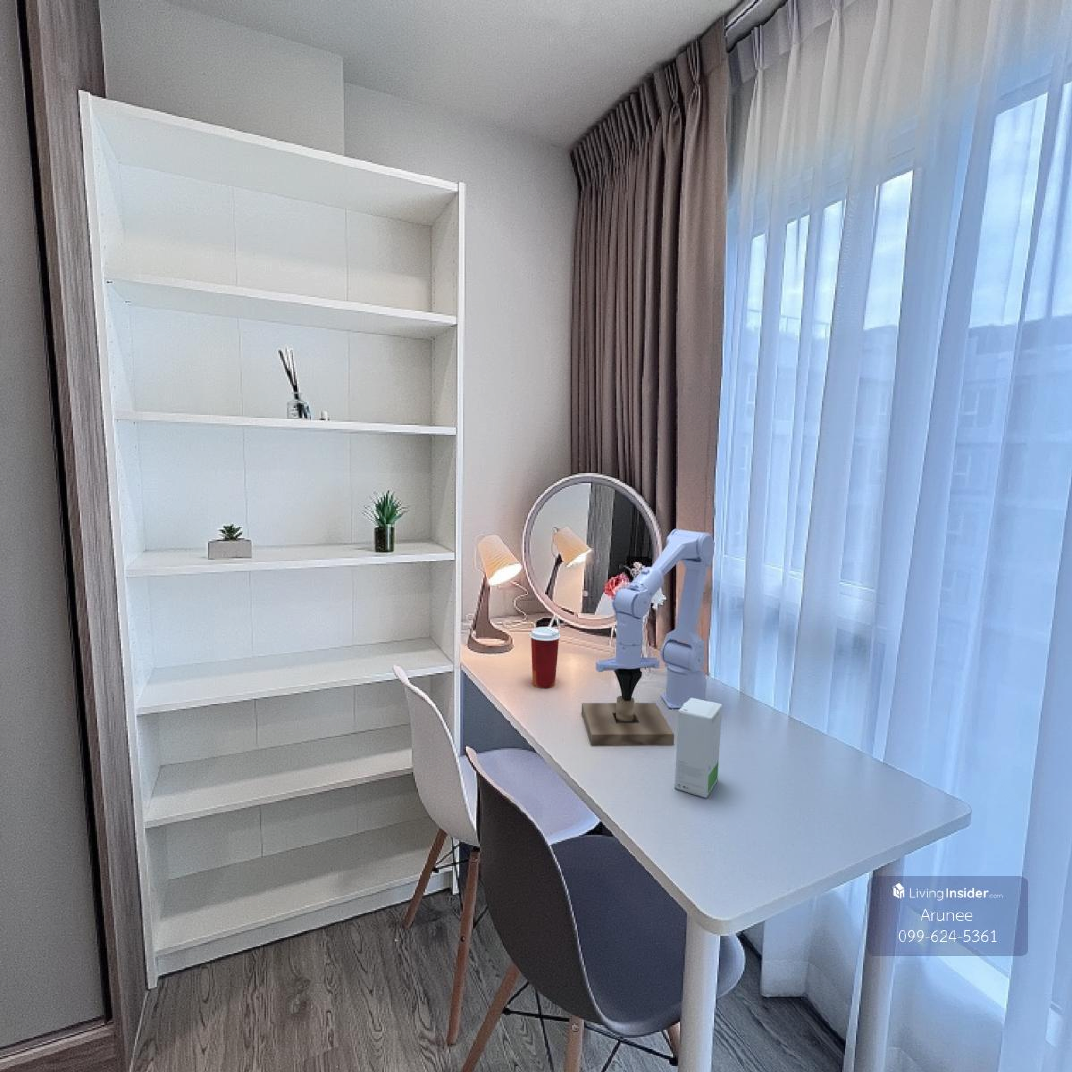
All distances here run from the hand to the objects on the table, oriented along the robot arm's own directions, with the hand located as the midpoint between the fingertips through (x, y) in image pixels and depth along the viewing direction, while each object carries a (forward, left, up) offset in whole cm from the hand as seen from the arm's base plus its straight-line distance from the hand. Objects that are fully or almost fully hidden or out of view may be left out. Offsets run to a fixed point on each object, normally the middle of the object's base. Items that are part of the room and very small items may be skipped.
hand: (626, 699), depth 135 cm
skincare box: (-9, +23, -7) cm, 26 cm away
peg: (0, 0, -7) cm, 7 cm away
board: (0, 0, -7) cm, 7 cm away
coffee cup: (+17, -26, -7) cm, 32 cm away
